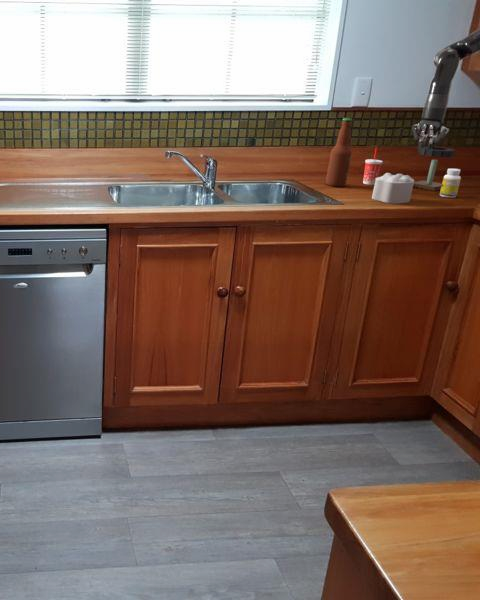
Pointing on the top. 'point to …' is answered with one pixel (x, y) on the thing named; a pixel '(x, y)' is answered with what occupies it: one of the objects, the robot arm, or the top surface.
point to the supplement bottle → (450, 183)
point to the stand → (429, 179)
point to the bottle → (340, 157)
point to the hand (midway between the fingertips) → (424, 153)
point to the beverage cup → (371, 170)
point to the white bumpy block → (393, 188)
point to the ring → (437, 152)
